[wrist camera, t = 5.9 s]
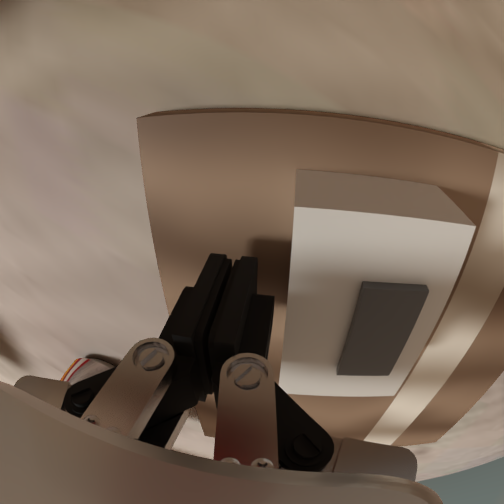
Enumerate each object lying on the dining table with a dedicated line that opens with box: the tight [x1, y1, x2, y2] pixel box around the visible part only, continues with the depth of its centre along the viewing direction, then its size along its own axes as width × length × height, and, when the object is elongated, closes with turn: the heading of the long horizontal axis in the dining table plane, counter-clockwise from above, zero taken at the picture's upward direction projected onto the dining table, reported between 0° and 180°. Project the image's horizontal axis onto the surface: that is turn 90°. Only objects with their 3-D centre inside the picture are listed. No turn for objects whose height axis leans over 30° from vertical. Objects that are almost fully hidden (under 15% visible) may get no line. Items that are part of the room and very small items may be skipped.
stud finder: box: [279, 169, 476, 397], centre depth 10 cm, size 8×5×3 cm, turn 0°
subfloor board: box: [137, 108, 504, 446], centre depth 15 cm, size 24×21×2 cm
